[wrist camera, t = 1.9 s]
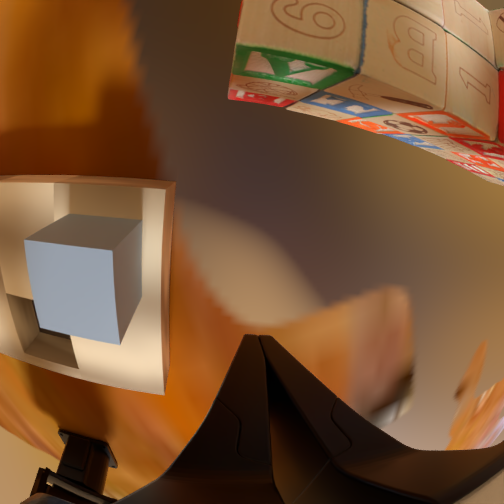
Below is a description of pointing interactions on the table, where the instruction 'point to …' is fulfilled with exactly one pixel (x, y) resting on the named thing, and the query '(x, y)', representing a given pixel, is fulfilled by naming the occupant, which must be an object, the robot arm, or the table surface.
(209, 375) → the table surface
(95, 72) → the table surface
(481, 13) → the stack of blocks
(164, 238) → the board
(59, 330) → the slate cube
